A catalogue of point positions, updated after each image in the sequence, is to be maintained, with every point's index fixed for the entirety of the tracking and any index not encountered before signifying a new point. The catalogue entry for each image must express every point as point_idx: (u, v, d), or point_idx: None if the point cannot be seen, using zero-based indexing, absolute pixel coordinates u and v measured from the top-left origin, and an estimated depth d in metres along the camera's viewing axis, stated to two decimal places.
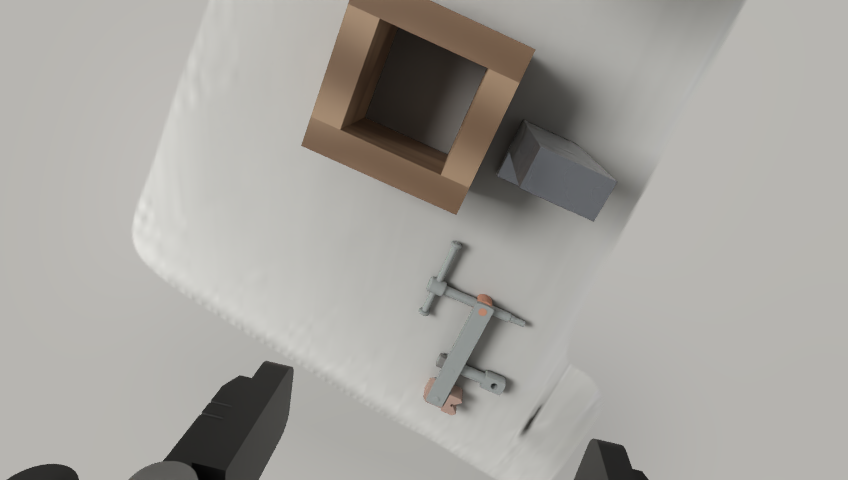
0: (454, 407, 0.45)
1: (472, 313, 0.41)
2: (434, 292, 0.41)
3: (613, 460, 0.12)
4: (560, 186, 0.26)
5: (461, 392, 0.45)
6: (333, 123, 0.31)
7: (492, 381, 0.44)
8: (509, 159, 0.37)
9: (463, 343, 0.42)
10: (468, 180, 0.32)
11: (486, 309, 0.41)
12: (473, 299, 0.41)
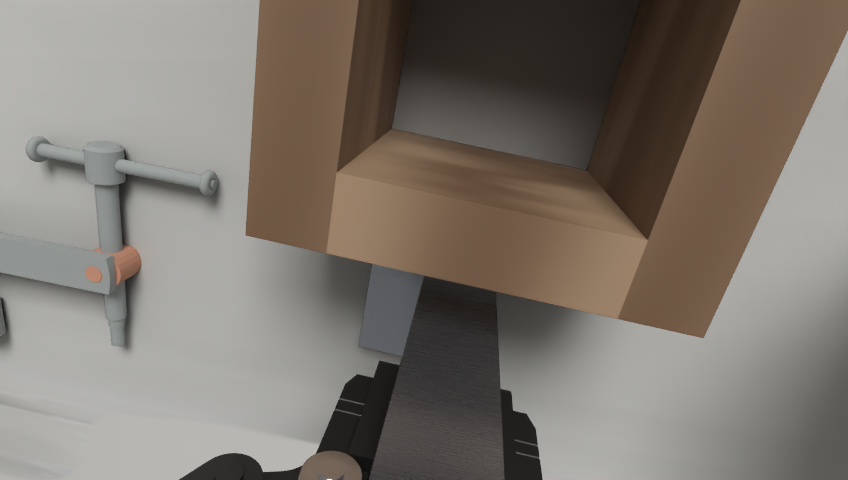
0: None
1: (80, 255, 0.19)
2: (85, 164, 0.18)
3: None
4: None
5: None
6: None
7: None
8: None
9: (10, 253, 0.19)
10: (344, 247, 0.12)
11: (102, 280, 0.19)
12: (115, 244, 0.20)
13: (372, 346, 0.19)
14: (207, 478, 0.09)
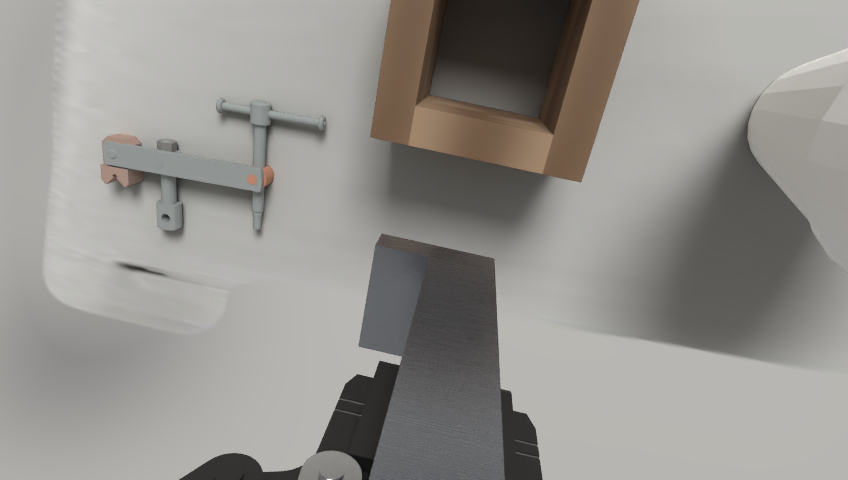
0: (113, 179, 0.34)
1: (245, 168, 0.33)
2: (252, 113, 0.32)
3: None
4: None
5: (138, 181, 0.35)
6: None
7: (171, 215, 0.35)
8: (414, 260, 0.18)
9: (202, 167, 0.33)
10: (417, 142, 0.25)
11: (257, 183, 0.33)
12: (262, 163, 0.33)
13: (372, 346, 0.19)
14: (207, 478, 0.09)
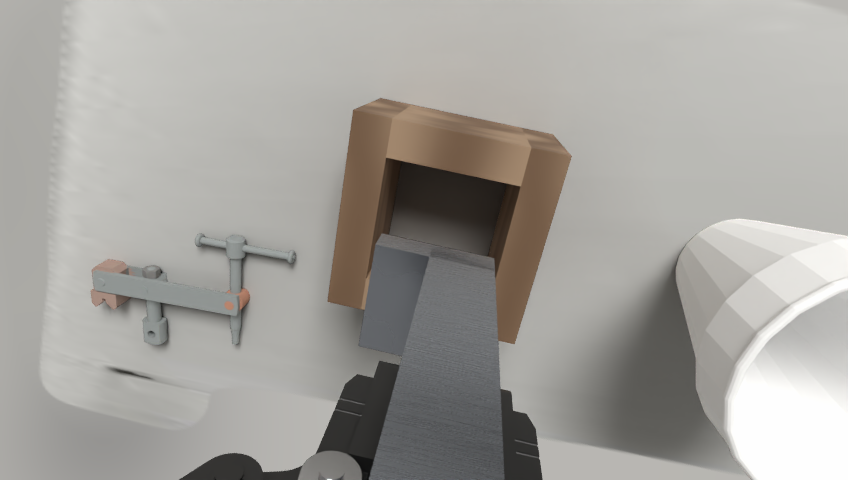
0: (103, 301, 0.38)
1: (222, 295, 0.36)
2: (227, 248, 0.35)
3: None
4: None
5: (125, 301, 0.38)
6: (391, 148, 0.25)
7: (156, 331, 0.38)
8: (414, 260, 0.18)
9: (183, 295, 0.36)
10: None
11: (233, 308, 0.36)
12: (238, 289, 0.36)
13: (372, 346, 0.19)
14: (207, 478, 0.09)
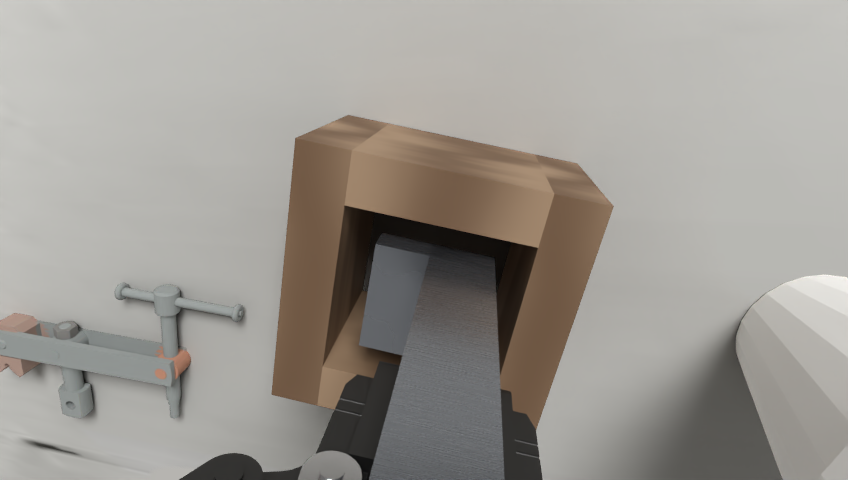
0: (8, 365, 0.30)
1: (151, 362, 0.28)
2: (155, 303, 0.27)
3: None
4: None
5: None
6: (351, 192, 0.17)
7: (76, 402, 0.30)
8: (414, 259, 0.18)
9: (103, 360, 0.28)
10: (327, 403, 0.21)
11: (166, 377, 0.28)
12: (174, 351, 0.29)
13: (372, 345, 0.19)
14: (207, 478, 0.09)
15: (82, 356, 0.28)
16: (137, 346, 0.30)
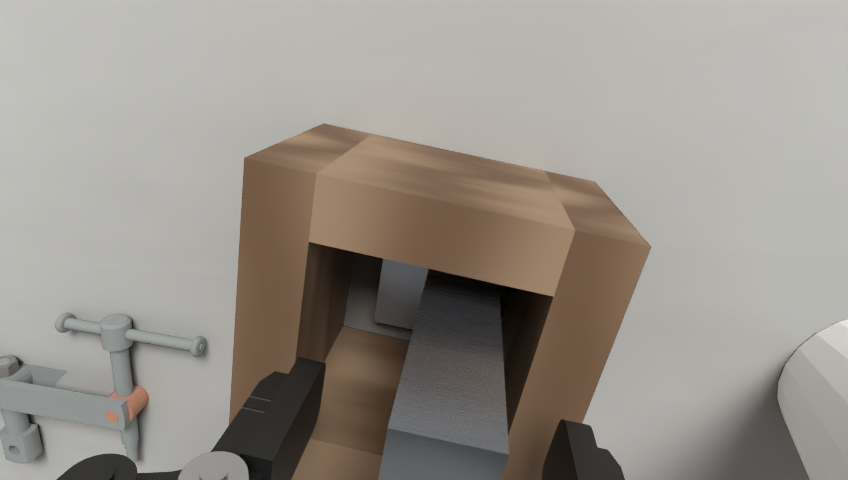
0: None
1: (100, 403, 0.24)
2: (102, 337, 0.23)
3: (579, 439, 0.12)
4: None
5: None
6: (317, 226, 0.14)
7: (20, 446, 0.27)
8: None
9: (46, 402, 0.25)
10: (294, 475, 0.17)
11: (119, 420, 0.24)
12: (127, 390, 0.25)
13: (386, 321, 0.21)
14: None
15: (21, 397, 0.25)
16: None
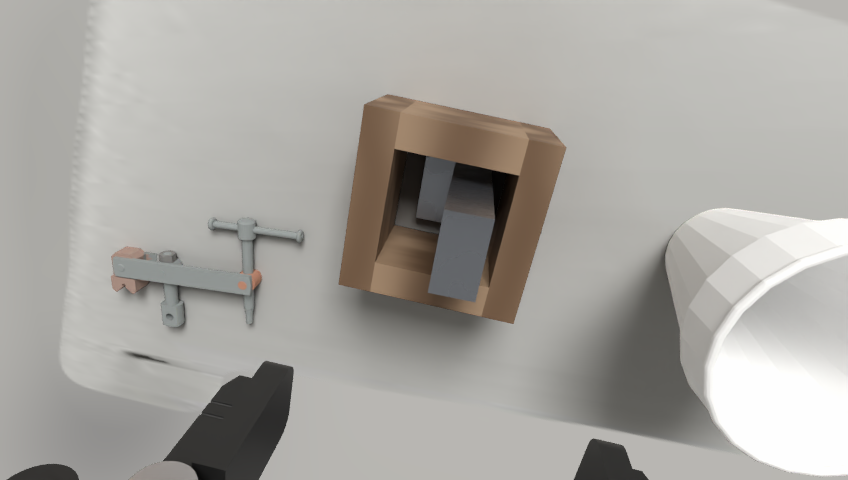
0: (123, 286, 0.40)
1: (235, 276, 0.38)
2: (239, 230, 0.37)
3: (613, 460, 0.12)
4: (457, 250, 0.24)
5: None
6: (399, 140, 0.27)
7: (174, 314, 0.40)
8: (447, 164, 0.33)
9: (199, 277, 0.38)
10: (377, 289, 0.30)
11: (246, 288, 0.38)
12: (250, 269, 0.38)
13: (423, 217, 0.35)
14: None
15: (182, 274, 0.38)
16: None
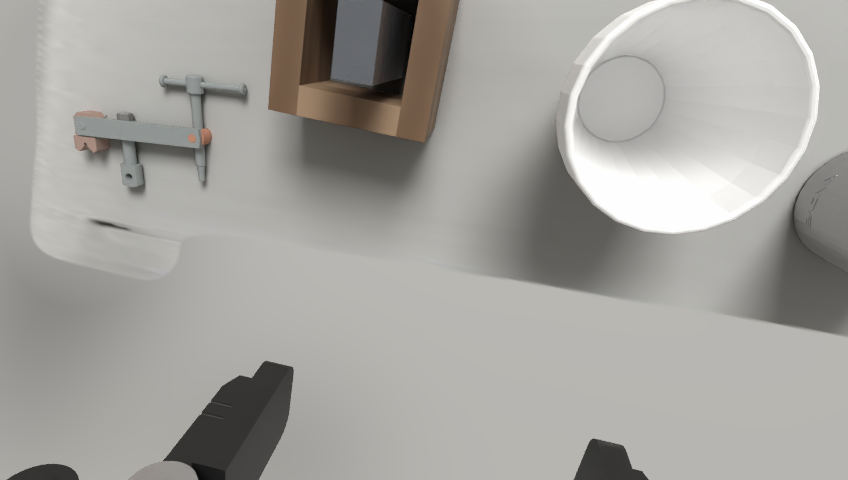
0: (85, 147, 0.43)
1: (185, 129, 0.41)
2: (187, 84, 0.40)
3: (613, 460, 0.12)
4: (353, 34, 0.27)
5: (105, 148, 0.44)
6: None
7: (132, 173, 0.43)
8: None
9: (152, 131, 0.41)
10: (302, 112, 0.34)
11: (196, 141, 0.41)
12: (200, 125, 0.41)
13: None
14: None
15: (138, 130, 0.41)
16: None
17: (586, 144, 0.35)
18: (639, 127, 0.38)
